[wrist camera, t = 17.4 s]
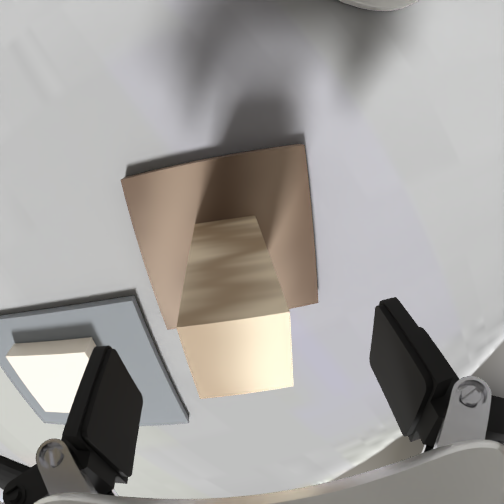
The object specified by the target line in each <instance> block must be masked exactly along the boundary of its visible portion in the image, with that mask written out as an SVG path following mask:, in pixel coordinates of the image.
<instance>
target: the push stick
mask: <svg viewBox="0 0 504 504" xmlns="http://www.w3.org/2000/svg"><path fill="white" fill-rule="evenodd" d="M177 331H178V334H179V337H180V340H181V344H182V347H183V350H184V353H185V356H186V359H187V362H188V365H189V368H190V371H191V374H192V377H193V380H194V383H195V385H196V388H197V391H198V394H199V397H200V399H204V398H214V397H223V396H231V395H239V394H247V393H254V392H261V391H267V390H273V389H279V388H285V387H291V386H293V366H292V345H291V325H290V311H289V308H288V305H287V303H286V300H285V297H284V294H283V291H282V289H281V286H280V283H279V280H278V277H277V275H276V272H275V269H274V266H273V263H272V261H271V258H270V255H269V252H268V250H267V247H266V244H265V241H264V238H263V236H262V233H261V230H260V227H259V225H258V222H257V219H256V217H255V216H247V217H240V218H233V219H226V220H219V221H212V222H206V223H199V224H195V226H194V231H193V236H192V241H191V246H190V252H189V257H188V262H187V268H186V273H185V279H184V285H183V291H182V296H181V302H180V309H179V315H178V321H177Z"/></svg>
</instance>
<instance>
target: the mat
mask: <svg viewBox="0 0 504 504" xmlns="http://www.w3.org/2000/svg"><path fill="white" fill-rule="evenodd" d="M88 337H92V339H93V341H94V342H95V344H96V346H107V345H109V346H111V347H112V349H115V350H116V351H117V353H118V354H119V356H120V358H121V360H122V362H123V363H124V365H125V367H126V369H127V370H128V372H129V374H130V376H131V377H132V379H133V381H134V382H135V384H136V386H137V387H138V389H139V391H140V392H141V394H142V397H143V406H142V412H141V418H140V423H139V426H154V425H172V424H185V423H189V416H188V415H187V413H186V411H185V409H184V407H183V405H182V403H181V401H180V399H179V397H178V395H177V393H176V391H175V389H174V387H173V384H172V382H171V380H170V378H169V376H168V374H167V372H166V370H165V367H164V365H163V363H162V361H161V359H160V356H159V354H158V352H157V349H156V347H155V345H154V343H153V340H152V338H151V335H150V333H149V331H148V328H147V326H146V323H145V321H144V318H143V316H142V313H141V311H140V308H139V306H138V303H137V300H136V298H135V295H133V296H127V297H121V298H115V299H108V300H102V301H96V302H89V303H83V304H76V305H69V306H63V307H56V308H49V309H42V310H35V311H28V312H21V313H14V314H7V315H0V366H1V368H2V369H3V370H4V372H5V373H6V375H7V376H8V378H9V379H10V380H11V382H12V383H13V385H14V386H15V387H16V389H17V390H18V391H19V393H20V394H21V395H22V397H23V398H24V399H25V400H26V402H27V403H28V404H29V406H30V407H31V408H32V409H33V410H34V412H35V413H36V414H37V415H38V416H39V418H40V419H41V420H42V421H43V422H44V423H50V424H63V425H65V424H66V421H67V418H68V415H69V413H61V412H45V410H44V409H43V408H42V407H41V405H40V404H39V403H38V401H37V400H36V399H35V398H34V396H33V395H32V394H31V392H30V391H29V390H28V388H27V387H26V386H25V384H24V383H23V381H22V380H21V379H20V377H19V376H18V374H17V373H16V371H15V370H14V368H13V367H12V365H11V364H10V362H9V361H8V359H7V358H6V355H7V353H8V352H9V350H10V349H11V347H12V346H13V344H16V343H31V342H45V341H57V340H68V339H78V338H88Z"/></svg>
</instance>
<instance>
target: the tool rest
mask: <svg viewBox="0 0 504 504" xmlns="http://www.w3.org/2000/svg"><path fill="white" fill-rule="evenodd" d="M121 183H122V187H123V191H124V195H125V199H126V202H127V206H128V210H129V214H130V217H131V221H132V224H133V228H134V231H135V235H136V238H137V241H138V245H139V248H140V251H141V254H142V258H143V261H144V264H145V267H146V270H147V273H148V276H149V279H150V282H151V285H152V288H153V291H154V294H155V297H156V300H157V303H158V305H159V308H160V311H161V314H162V316H163V319H164V322H165V325H166V327H167V330H169V329H176V328H177V321H178V315H179V309H180V302H181V296H182V291H183V285H184V279H185V273H186V268H187V262H188V257H189V252H190V246H191V241H192V236H193V231H194V226H195V224H199V223H206V222H212V221H219V220H226V219H233V218H240V217H247V216H255V217H256V219H257V222H258V225H259V227H260V230H261V233H262V236H263V238H264V241H265V244H266V247H267V250H268V252H269V255H270V258H271V261H272V263H273V266H274V269H275V272H276V275H277V277H278V280H279V283H280V286H281V289H282V291H283V294H284V297H285V300H286V303H287V305H288V308H289V309H291V308H296V307H301V306H305V305H310V304H315V303H318V289H317V273H316V258H315V245H314V232H313V221H312V210H311V199H310V189H309V180H308V171H307V162H306V154H305V145H303V144H294V145H287V146H279V147H272V148H266V149H259V150H253V151H247V152H241V153H235V154H229V155H223V156H218V157H213V158H208V159H202V160H197V161H192V162H188V163H183V164H178V165H174V166H169V167H165V168H160V169H156V170H152V171H148V172H144V173H140V174H136V175H132V176H128V177H125V178H123V179H122V180H121Z"/></svg>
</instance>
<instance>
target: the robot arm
mask: <svg viewBox="0 0 504 504" xmlns="http://www.w3.org/2000/svg"><path fill="white" fill-rule="evenodd" d="M339 1H341V2H343V3H346V4H349V5H352V6H355V7H358V8H362V9H368V10H373V11H392V10H399V9H402V8H405V7H407V6H410V5H412V4H414V3H415V2H417V1H419V0H339ZM370 365H371V368H372V370H373V372H374V374H375V376H376V378H377V380H378V382H379V384H380V386H381V388H382V391H383V393H384V395H385V397H386V399H387V401H388V403H389V406H390V408H391V410H392V412H393V414H394V416H395V419H396V421H397V423H398V425H399V427H400V430H401V432H402V434H403V435H404V436H408V437H409V439H410V441H411V442H412V441H414V440H417V439H421V441H422V443H423V444H425V445H424V448H423V451H422V453H421V454H418V455H416V456H413V457H410V458H408V459H405V460H402V461H399V462H396V463H393V464H390V465H387V466H384V467H381V468H378V469H374V470H371V471H368V472H365V473H361V474H358V475H355V476H351V477H347V478H343V479H340V480H336V481H331V482H327V483H323V484H318V485H313V486H308V487H303V488H298V489H293V490H287V491H281V492H274V493H267V494H259V495H250V496H240V497H228V498H211V499H153V498H136V497H122V496H119V495H118V494H117V492H116V491H115V489H114V485H115V483H125V484H127V481H128V477H130V476H131V475H132V469H133V462H134V455H135V448H136V442H137V436H138V429H139V423H140V418H141V412H142V406H143V397H142V394H141V392H140V391H139V389H138V387H137V386H136V384H135V382H134V381H133V379H132V377H131V376H130V374H129V372H128V370H127V369H126V367H125V365H124V363H123V362H122V360H121V358H120V356H119V354H118V353H117V351H116V350H115V349H112V347H111V346H109V345H107V346H96V347H94V349H93V351H92V353H91V356H90V358H89V361H88V363H87V366H86V368H85V371H84V374H83V376H82V379H81V382H80V384H79V387H78V390H77V392H76V395H75V398H74V401H73V404H72V407H71V410H70V412H69V415H68V418H67V421H66V424H65V428H64V431H63V434H62V435H63V436H62V439H61V440H60V439H56V438H55V439H49V440H47V441H45V442H44V443H42V444H41V445H40V447H39V448H38V450H37V453H36V463H37V464H36V465H34V466H33V467H31V468H30V469H28V470H27V471H25V472H24V473H22V474H21V475H19V476H18V477H16V478H14V479H13V480H11V481H10V482H9V483H8V484H7V485H6V486H5V488H4V491H3V500H4V502H3V503H2V502H1V501H0V504H504V398H500V397H496V396H492V395H491V390H490V387H489V386H488V384H487V383H486V382H485V381H483V380H482V379H481V378H478V377H474V376H467V377H463V378H461V379H459V378H458V377H457V375H456V374H455V372H454V371H453V369H452V368H451V366H450V365H449V363H448V362H447V360H446V359H445V358H444V356H443V355H442V353H441V352H440V350H439V349H438V348H437V346H436V345H435V343H434V342H433V341H432V339H431V338H430V336H429V335H428V334H427V332H426V331H425V330H424V329H423V328H421V327H418V325H417V324H416V323H415V321H414V320H413V319H412V317H411V316H410V315H409V313H408V312H407V311H406V309H405V308H404V307H403V305H402V304H401V303H400V301H399V300H398V299H397V298H396V297H394V298H390V299H386V300H382V301H380V303H379V305H378V306H376V308H375V317H374V326H373V335H372V343H371V351H370Z"/></svg>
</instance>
